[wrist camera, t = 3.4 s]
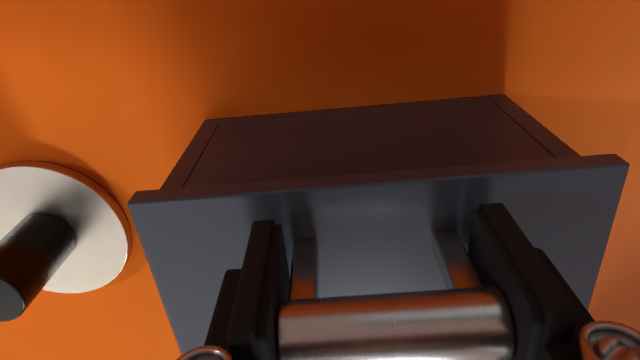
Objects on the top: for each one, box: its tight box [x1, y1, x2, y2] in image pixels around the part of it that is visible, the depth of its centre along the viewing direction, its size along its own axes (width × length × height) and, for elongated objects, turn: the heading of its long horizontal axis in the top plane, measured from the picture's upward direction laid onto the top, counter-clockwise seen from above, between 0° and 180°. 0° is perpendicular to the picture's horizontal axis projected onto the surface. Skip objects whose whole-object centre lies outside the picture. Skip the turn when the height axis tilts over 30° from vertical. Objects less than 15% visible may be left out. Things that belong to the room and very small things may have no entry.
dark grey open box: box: [160, 95, 580, 189], centre depth 20 cm, size 15×14×8 cm
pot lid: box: [0, 161, 132, 321], centre depth 20 cm, size 8×8×5 cm
